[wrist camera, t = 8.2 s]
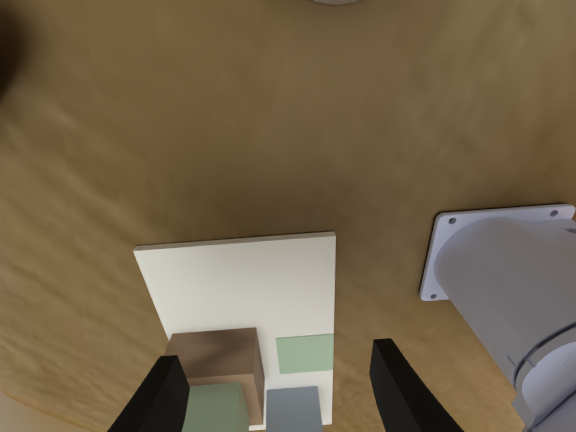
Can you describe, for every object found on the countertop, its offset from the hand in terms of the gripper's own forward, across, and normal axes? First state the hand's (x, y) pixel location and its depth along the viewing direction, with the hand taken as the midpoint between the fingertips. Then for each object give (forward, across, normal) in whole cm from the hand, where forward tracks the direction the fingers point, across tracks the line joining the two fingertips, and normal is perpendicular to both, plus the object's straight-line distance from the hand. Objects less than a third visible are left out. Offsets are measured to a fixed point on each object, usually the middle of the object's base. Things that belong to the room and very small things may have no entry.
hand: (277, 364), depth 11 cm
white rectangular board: (+10, +3, +14) cm, 17 cm away
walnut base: (+10, +6, +13) cm, 17 cm away
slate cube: (+10, 0, +21) cm, 23 cm away
